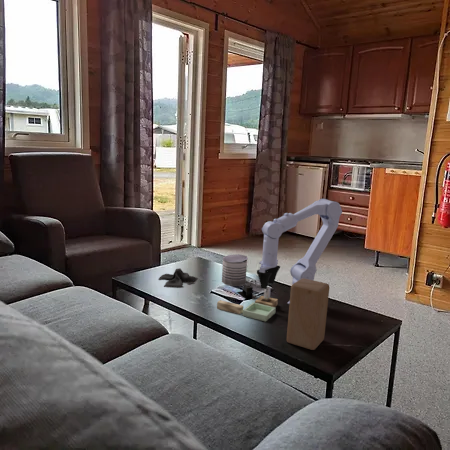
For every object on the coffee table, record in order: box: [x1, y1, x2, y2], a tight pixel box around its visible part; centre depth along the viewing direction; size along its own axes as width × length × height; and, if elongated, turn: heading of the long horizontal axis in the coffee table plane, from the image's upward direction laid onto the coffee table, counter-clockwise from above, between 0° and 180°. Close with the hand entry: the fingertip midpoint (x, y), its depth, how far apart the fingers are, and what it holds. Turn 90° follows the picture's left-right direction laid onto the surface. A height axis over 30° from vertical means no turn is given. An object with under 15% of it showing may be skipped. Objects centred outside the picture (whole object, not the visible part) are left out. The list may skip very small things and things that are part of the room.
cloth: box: [157, 268, 199, 289], centre depth 192 cm, size 22×19×6 cm
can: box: [221, 253, 248, 287], centre depth 192 cm, size 11×11×12 cm
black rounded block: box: [236, 284, 259, 301], centre depth 177 cm, size 12×7×5 cm, turn 23°
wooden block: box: [286, 278, 330, 351], centre depth 136 cm, size 10×10×20 cm
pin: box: [263, 286, 271, 302], centre depth 166 cm, size 2×2×8 cm
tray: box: [242, 301, 277, 322], centre depth 158 cm, size 9×9×2 cm
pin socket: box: [254, 295, 279, 308], centre depth 167 cm, size 7×7×2 cm
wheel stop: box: [216, 299, 244, 315], centre depth 160 cm, size 10×2×3 cm, turn 63°
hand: (267, 285), depth 165 cm, fingers open, 7 cm apart
